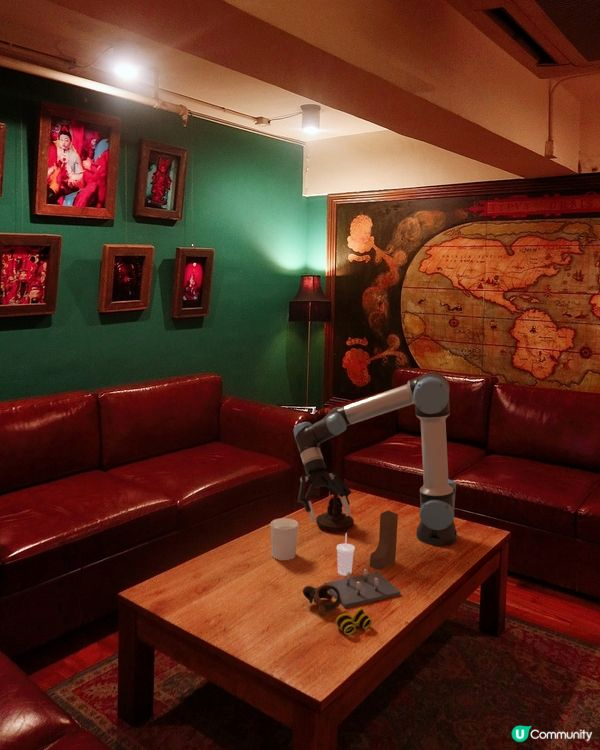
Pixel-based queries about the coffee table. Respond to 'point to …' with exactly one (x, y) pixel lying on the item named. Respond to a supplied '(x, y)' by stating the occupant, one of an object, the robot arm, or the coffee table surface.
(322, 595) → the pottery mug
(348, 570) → the beverage cup
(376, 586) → the cup stand
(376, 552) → the wooden block
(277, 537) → the candle holder
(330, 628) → the coffee table surface
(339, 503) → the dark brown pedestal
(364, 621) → the opera glasses
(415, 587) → the coffee table surface
